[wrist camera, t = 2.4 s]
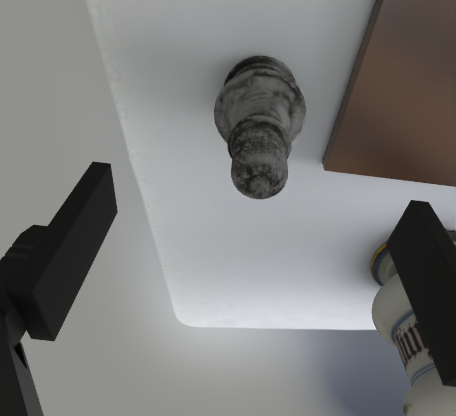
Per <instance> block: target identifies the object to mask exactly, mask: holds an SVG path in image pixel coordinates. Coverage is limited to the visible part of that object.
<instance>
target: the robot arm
mask: <svg viewBox="0 0 456 416" xmlns="http://www.w3.org/2000/svg"><path fill="white" fill-rule="evenodd" d="M116 214H117V205H116V198H115V192H114V184H113V177H112V171H111V164H108V163H100V162H92V164H91V165H90V166H89V168H88V169H87V171H86V172H85V174H84V175H83V176H82V178H81V179H80V181H79V182H78V183H77V185H76V186H75V188H74V189H73V191H72V192H71V194H70V195H69V196H68V198H67V199H66V201H65V202H64V204H63V205H62V206H61V208H60V209H59V211H58V212H57V213H56V215H55V216H54V218H53V219H52V221H51V222H50V224H49V225H48V226H40V225H33V226H31V227H30V228H28V229H27V230H26V231H24V232H23V233H21V234H20V235H19V237H18V238H17V239H16V241H15V242H14V243H13V245H12V247H10V248H9V250H8V251H7V252H6V253H5V256H4V257H2V259H1V260H0V416H44V415H43V412H42V409H41V405H40V402H39V398H38V396H37V392H36V389H35V385H34V382H33V379H32V375H31V372H30V369H29V365H28V362H27V359H26V355H25V352H24V349H23V346H22V343H21V342H20V340H21V338H22V337H23V335H24V333H25V331H26V330H27V332H28V333H29V335H30V337H31V339H38V340H47V341H55V339H56V337H57V335H58V333H59V331H60V329H61V327H62V325H63V323H64V321H65V318H66V316H67V314H68V312H69V310H70V308H71V306H72V304H73V302H74V300H75V298H76V296H77V294H78V292H79V290H80V288H81V286H82V284H83V282H84V280H85V277H86V276H87V273H88V271H89V269H90V267H91V265H92V263H93V261H94V259H95V257H96V255H97V253H98V251H99V249H100V247H101V245H102V243H103V241H104V239H105V237H106V235H107V232H108V231H109V228H110V226H111V224H112V222H113V220H114V218H115V216H116ZM386 245H387V248H388V250H389V253H390V255H391V258H392V260H393V263H394V265H395V268H396V270H397V273H398V275H399V278H400V280H401V282H402V285H403V287H404V290H405V292H406V295H407V297H408V300H409V302H410V305H411V307H412V310H413V312H414V315H415V317H416V320H417V322H418V324H419V327H420V329H421V332H422V334H423V337H424V339H425V342H426V344H427V347H428V349H429V352H430V354H431V357H432V359H433V362H434V364H435V367H436V369H437V371H438V374H439V376H440V379H441V381H442V384H443V386H451V387H456V246H455V244H454V242H453V241H452V239H451V238H450V236H449V234H448V233H447V231H446V230H445V228H444V226H443V225H442V223H441V222H440V220H439V218H438V217H437V215H436V213H435V212H434V210H433V209H432V207H431V205H430V204H429V202H423V201H415V200H411V201H410V203H409V205H408V206H407V208H406V210H405V212H404V213H403V215H402V217H401V219H400V220H399V222H398V224H397V225H396V227H395V229H394V231H393V232H392V234H391V236H390V238H389V239H388V241H387V243H386Z"/></svg>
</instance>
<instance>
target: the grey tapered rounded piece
mask: <svg viewBox="0 0 456 416" xmlns="http://www.w3.org/2000/svg"><path fill="white" fill-rule="evenodd" d="M305 113H306V107H305V102H304V97H303V95H302V93H301V91H300V89H299V87H298V86H297V85H296V84H295V79H294V77H293V75H292V73H291V71H290V70H289V69H288V68H287V67H286V66H285V65H284V64H283V63H281V62H280V61H278V60H276V59H274V58H270V57H266V56H256V57H252V58H248V59H245V60H243V61H242V62H240V63H239V64H237V65H236V66H235V67H234V68H233V69H232V70H231V71H230V73H229V75H228V77H227V78H226V80H225V84H224V87H223V88H222V89H221V91H220V93H219V95H218V97H217V99H216V104H215V109H214V116H215V124H216V126H217V129H218V132H219V133H220V135H221V136H222V138H223V139H224V140H225V141H226V142H227V144H228V151H229V154H230V157H231V158H232V167H231V177H232V180H233V183H234V185H235V187H236V188H237V189H238V191H240V192H241V193H242V194H243V195H246V196H248V197H250V198H254V199H267V198H270V197H272V196H274V195H276V194H278V193H279V192H280V191H281V190H282V189H283V188H284V186H285V184H286V181H287V178H288V167H287V158H288V157H289V155H290V152H291V147H292V141H294V140H295V138H296V137H297V135H298V134H299V133H300V131H301V129H302V126H303V124H304V121H305Z"/></svg>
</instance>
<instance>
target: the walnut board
mask: <svg viewBox="0 0 456 416" xmlns="http://www.w3.org/2000/svg"><path fill="white" fill-rule="evenodd" d="M322 163H323V167H324V170H325V171H333V172H341V173H349V174H357V175H365V176H374V177H382V178H390V179H398V180H406V181H414V182H422V183H430V184H438V185H446V186H455V187H456V0H376V3H375V6H374V9H373V12H372V15H371V18H370V21H369V24H368V27H367V30H366V33H365V36H364V39H363V42H362V45H361V48H360V51H359V54H358V57H357V60H356V63H355V66H354V69H353V72H352V75H351V78H350V81H349V84H348V87H347V90H346V93H345V96H344V99H343V102H342V105H341V108H340V111H339V114H338V117H337V120H336V123H335V126H334V129H333V132H332V135H331V138H330V141H329V144H328V147H327V150H326V153H325V156H324V159H323V162H322Z"/></svg>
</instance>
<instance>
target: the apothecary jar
mask: <svg viewBox="0 0 456 416" xmlns="http://www.w3.org/2000/svg"><path fill="white" fill-rule="evenodd" d="M444 228H445V227H444ZM445 230H446V229H445ZM446 231H447V230H446ZM447 233H448V234H449V236H450V238H451V239H452V241H453V242H454V244H455V246H456V232H449V231H447ZM386 243H387V242H386ZM386 243H385V244H384V245H382V246H381V247H380V248H379V249H378V250H377V252H376V253H375V255H374V257H373V259H372V262H371V273H372V276H373V278H374V279H375V281H376V282H377V283H378V284H379V285H381V286H382V287H381V289H380V290H379V291H378V293H377V294H376V296H375V298H374V301H373V306H372V319H373V322H374V325H375V327H376V329H377V330H378V332H379V333H380V335H381V336H382V337H383V338H384V339H385V340H386V341H388V342H389V343H390V344H392V345H393V346H395V347H396V348H398V351H399V354H400V356H401V359H402V362H403V364H404V367H405V370H406V373H407V375H408V378H409V381H410V384H411V388H410V390H409V391H408V393H407V394H406V397H405V399H404V402H403V414H404V416H456V387H451V386H443V384H442V381H441V379H440V376H439V374H438V371H437V369H436V367H435V364H434V362H433V359H432V357H431V354H430V352H429V349H428V347H427V344H426V342H425V339H424V337H423V334H422V332H421V329H420V327H419V324H418V322H417V320H416V317H415V315H414V312H413V310H412V307H411V305H410V302H409V300H408V297H407V295H406V292H405V290H404V287H403V285H402V282H401V280H400V278H399V275H398V273H397V270H396V268H395V265H394V263H393V260H392V258H391V255H390V253H389V250H388V248H387V245H386Z"/></svg>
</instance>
